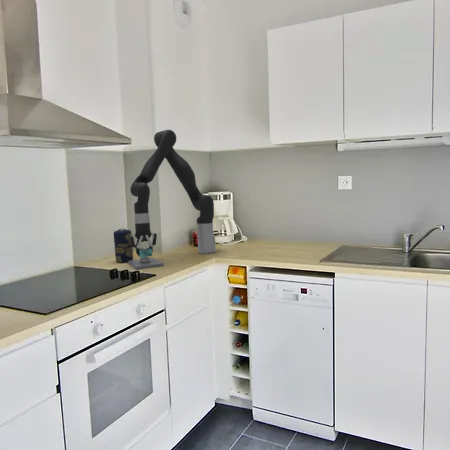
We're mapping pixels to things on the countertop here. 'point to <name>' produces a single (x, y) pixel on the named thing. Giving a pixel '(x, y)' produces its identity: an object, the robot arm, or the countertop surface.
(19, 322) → the countertop surface
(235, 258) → the countertop surface
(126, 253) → the canister
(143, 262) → the shaft stand
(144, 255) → the collar
